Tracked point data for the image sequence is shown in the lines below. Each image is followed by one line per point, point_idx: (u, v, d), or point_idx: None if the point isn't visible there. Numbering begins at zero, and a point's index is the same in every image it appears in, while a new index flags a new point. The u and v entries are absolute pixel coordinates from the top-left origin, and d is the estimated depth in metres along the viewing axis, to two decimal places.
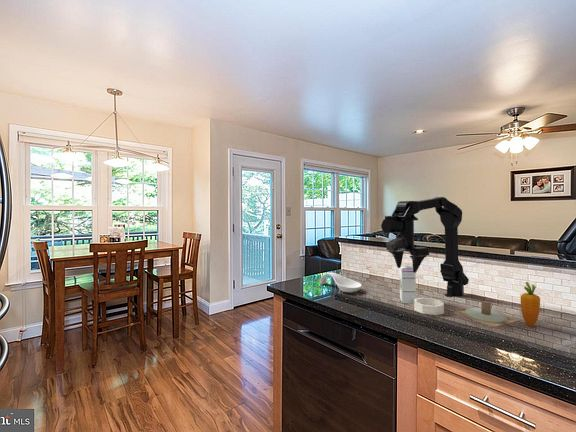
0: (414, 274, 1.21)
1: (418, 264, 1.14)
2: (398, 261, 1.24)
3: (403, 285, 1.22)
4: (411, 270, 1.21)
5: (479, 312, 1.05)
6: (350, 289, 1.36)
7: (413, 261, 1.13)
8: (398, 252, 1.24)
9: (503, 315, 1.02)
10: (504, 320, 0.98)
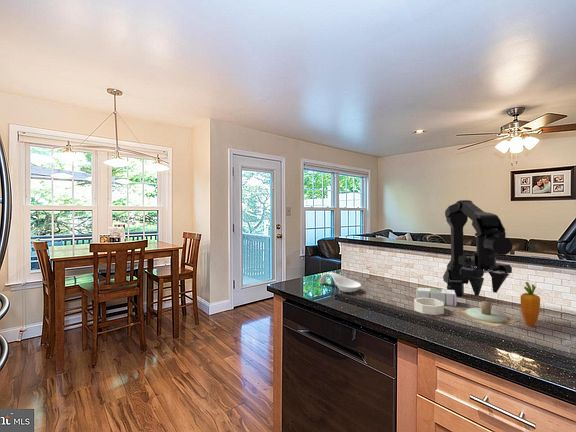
0: None
1: (476, 287, 1.01)
2: (494, 284, 1.05)
3: (436, 294, 1.18)
4: (454, 303, 1.15)
5: (479, 312, 1.05)
6: (349, 289, 1.36)
7: None
8: (495, 274, 1.05)
9: (503, 315, 1.02)
10: (504, 320, 0.98)
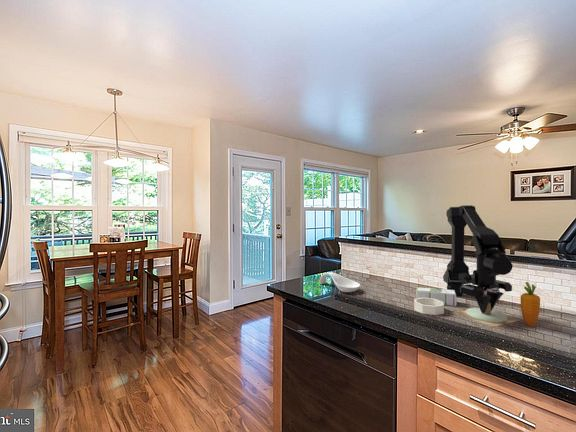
0: None
1: (482, 304, 1.02)
2: None
3: (436, 294, 1.18)
4: (454, 303, 1.15)
5: (479, 312, 1.05)
6: (348, 289, 1.36)
7: None
8: (490, 293, 1.04)
9: (503, 315, 1.02)
10: (504, 320, 0.98)
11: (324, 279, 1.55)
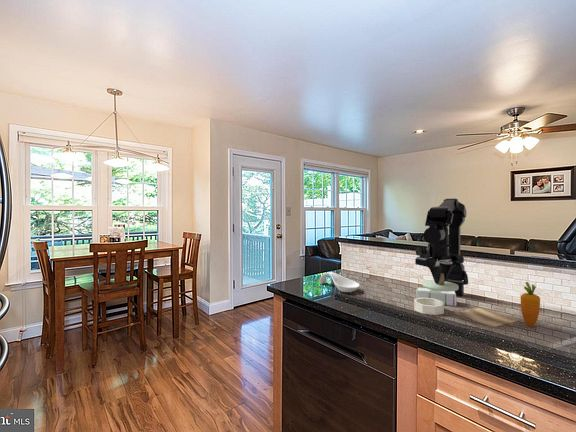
0: None
1: (436, 275, 1.08)
2: None
3: (436, 294, 1.18)
4: (454, 303, 1.15)
5: (434, 283, 1.10)
6: (347, 289, 1.36)
7: None
8: (443, 265, 1.10)
9: (455, 285, 1.07)
10: (455, 289, 1.04)
11: (324, 279, 1.55)
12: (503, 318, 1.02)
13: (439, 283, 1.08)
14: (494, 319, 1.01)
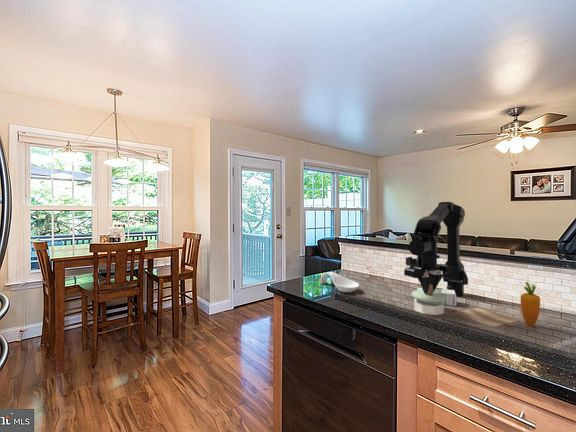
0: None
1: (424, 285, 1.10)
2: None
3: None
4: (454, 303, 1.15)
5: (423, 293, 1.12)
6: (346, 289, 1.36)
7: None
8: (432, 276, 1.12)
9: (444, 295, 1.09)
10: (443, 299, 1.06)
11: (324, 279, 1.55)
12: (503, 318, 1.02)
13: (428, 293, 1.10)
14: (494, 319, 1.01)
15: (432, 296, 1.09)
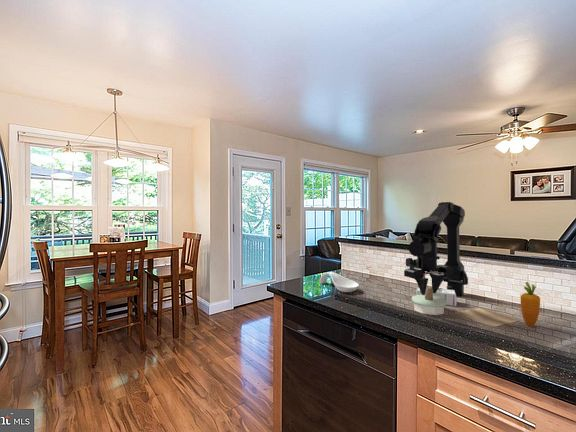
0: None
1: (422, 287, 1.09)
2: (433, 286, 1.12)
3: (436, 294, 1.18)
4: (454, 303, 1.15)
5: (423, 298, 1.12)
6: (346, 289, 1.36)
7: None
8: (434, 276, 1.12)
9: (444, 300, 1.09)
10: (443, 304, 1.06)
11: (325, 279, 1.55)
12: (503, 318, 1.02)
13: (428, 298, 1.10)
14: (494, 319, 1.01)
15: (432, 301, 1.09)
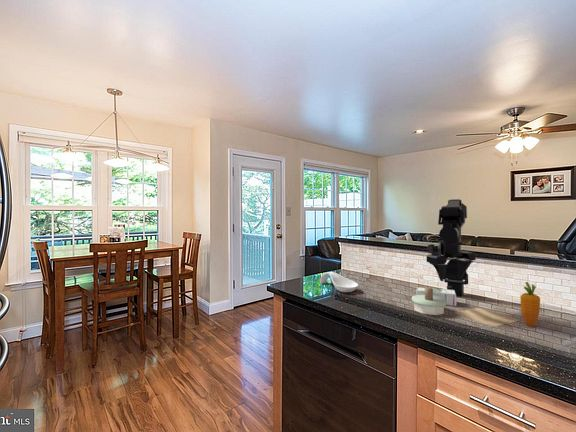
0: None
1: (441, 273, 1.09)
2: (460, 271, 1.14)
3: (436, 294, 1.18)
4: (454, 303, 1.15)
5: (423, 298, 1.12)
6: (345, 289, 1.37)
7: None
8: (460, 262, 1.13)
9: (444, 300, 1.09)
10: (443, 304, 1.06)
11: (325, 278, 1.56)
12: (503, 318, 1.02)
13: (428, 298, 1.10)
14: (494, 319, 1.01)
15: (432, 301, 1.09)
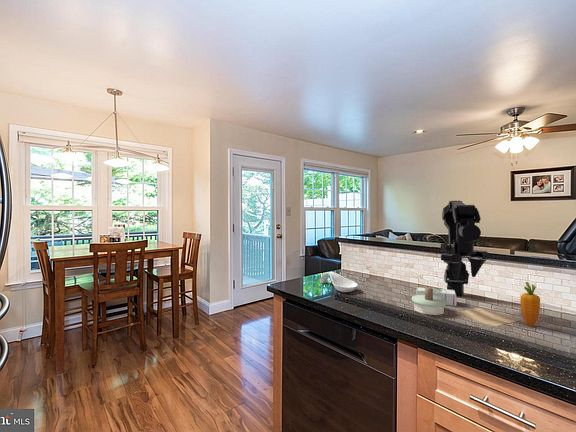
0: None
1: (455, 271, 1.09)
2: (473, 270, 1.14)
3: (436, 294, 1.18)
4: (454, 303, 1.15)
5: (423, 298, 1.12)
6: (344, 289, 1.37)
7: None
8: (474, 260, 1.14)
9: (444, 300, 1.09)
10: (443, 304, 1.06)
11: (325, 278, 1.56)
12: (503, 318, 1.02)
13: (428, 298, 1.10)
14: (494, 319, 1.01)
15: (432, 301, 1.09)
